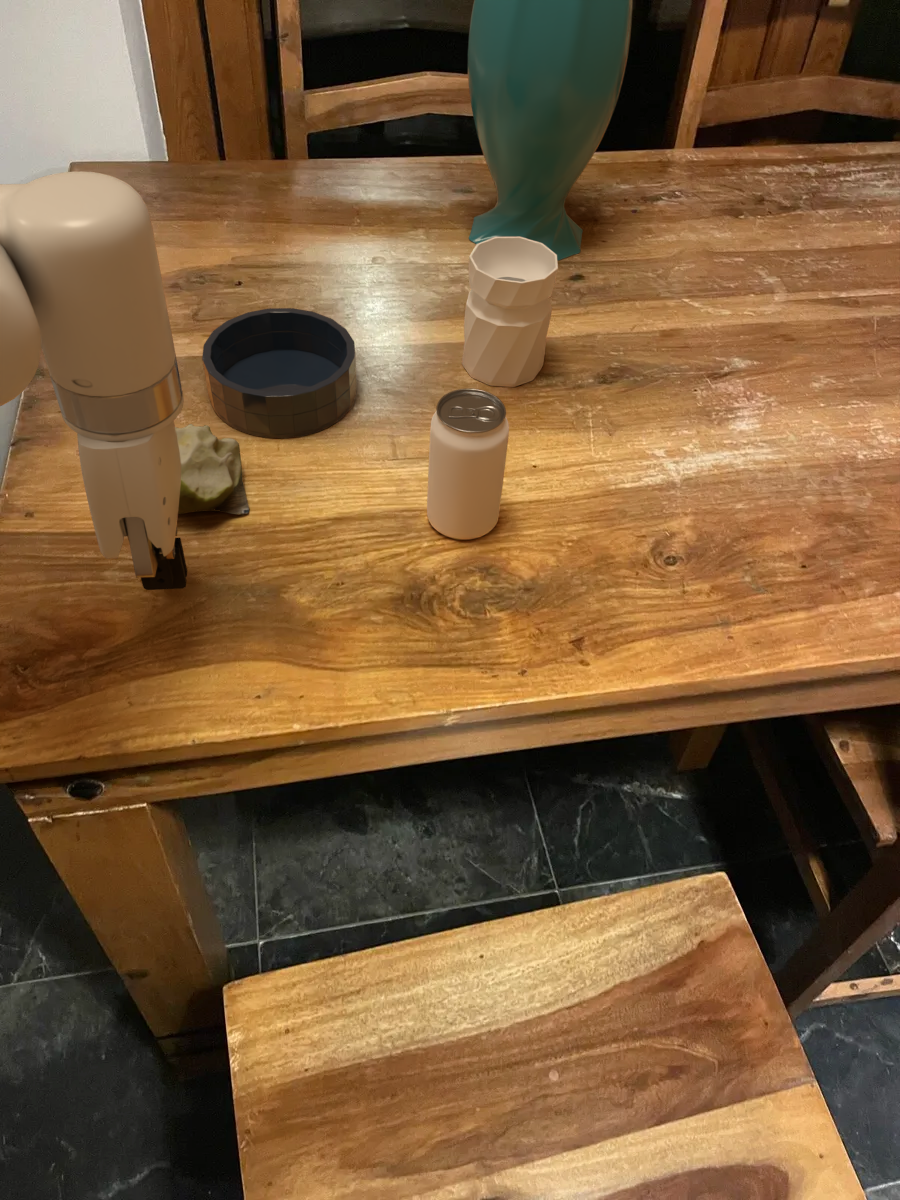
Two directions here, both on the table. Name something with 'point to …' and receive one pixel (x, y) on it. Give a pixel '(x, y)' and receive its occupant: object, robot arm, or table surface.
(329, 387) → the pan
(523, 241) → the vase
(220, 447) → the fruit
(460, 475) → the can
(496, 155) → the vase
